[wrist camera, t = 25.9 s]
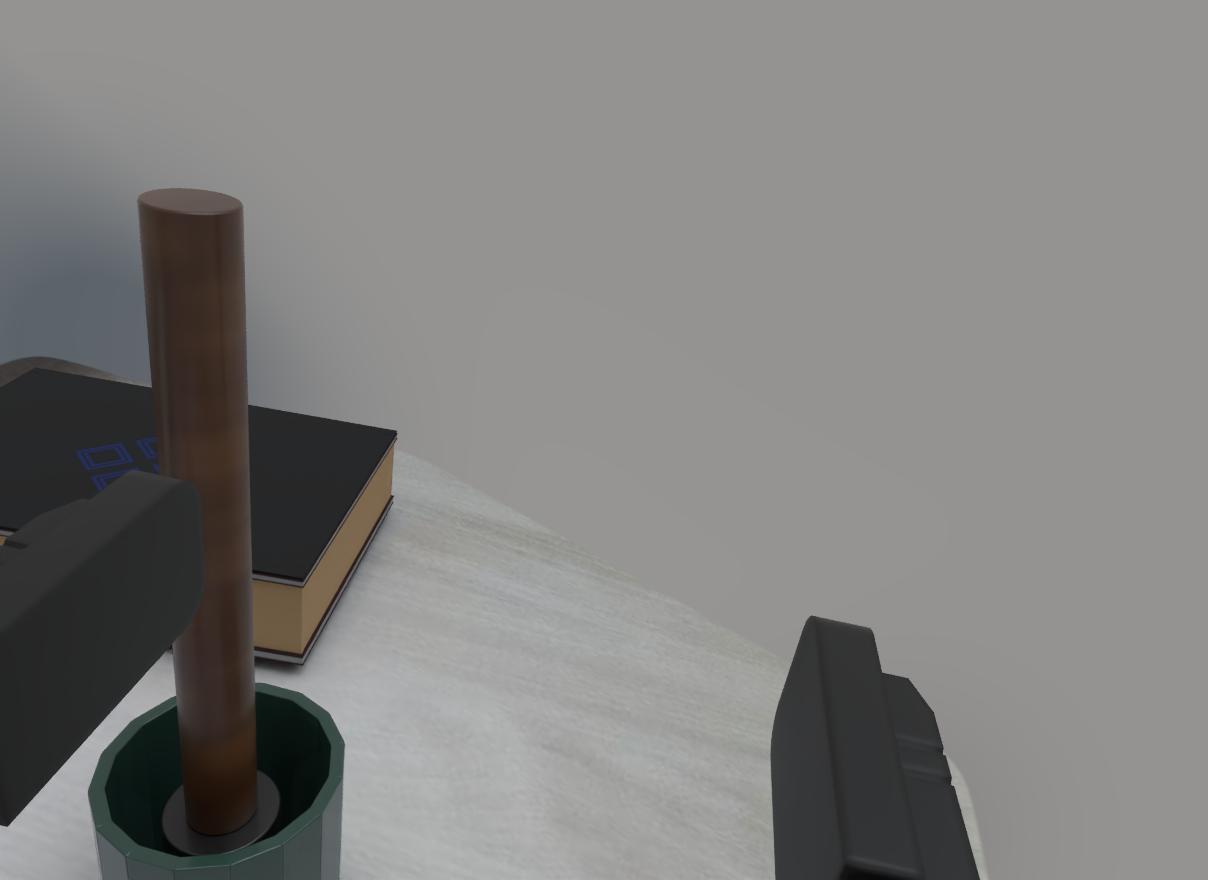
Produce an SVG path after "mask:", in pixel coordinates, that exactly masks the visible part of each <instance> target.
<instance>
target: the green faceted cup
mask: <svg viewBox="0 0 1208 880" xmlns="http://www.w3.org/2000/svg"><path fill="white" fill-rule="evenodd" d="M255 709H256V749H257V769H258V770H260V771H262V772H264V773H265V774H267V775H268V776H269V777H270V778H271V779H272V780H273V781H274V782H275V784H276V785H277V787H278V789H279V792H280V796H281V831H280V832H279V833H278V834H276V835H275V836H273V837H270V838H268V839H265V840H263V841H260V842H257V843H255V844H252V845H250V846H247V847H245V848H242V849H239V850H237V851H234V852H232V853H229V854H215V855H202V856H188V857H178V856H175V855H171V854H168V853H164V852H163V842H162V832H161V815H162V812H163V809H164V807H165V804H166V802H167V801H168V799H169V798H170V796H171V795H172V794H173V792H174V791H175V790H176V789H177V788H178V787H179V786H180V785H182V784H183V775H182V763H181V750H180V737H179V724H178V712H177V699H176V696H174V697H172V698H170V699H168V700H166V701H165V702H163V703H161V704H160V705H158V706H156V707H154V708H153V709H151V710H149V711H148V712H146V713H144V714H142V715H141V716H139V717H137V718H135V719H134V720H133V721H131V722H130V723H129V724H128V725H127V726H126V728H125V729H124V730H123V731H122V732H121V733H120V734H119V735H118V736H117V737H116V738H115V739H114V740H113V742H112V743H111V744H110V745H109V746H108V747H107V748H106V749H105V750H104V751H103V753H102V754H101V756H100V759H99V761H98V764H97V767H96V770H95V773H94V775H93V778H92V781H91V784H90V786H89V789H88V799H89V806H90V813H91V819H92V826H93V833H94V839H95V846H96V853H97V859H98V866H99V873H100V880H340V859H341V833H342V807H343V780H344V754H345V744H344V740H343V738H342V736H341V734H340V733H339V731H338V729H337V727H336V725H335V723H334V721H333V719H332V717H331V715H330V714H329V712H327V711H326V710H324V709H323V708H322V707H320V706H319V705H317V704H316V703H315V702H313V701H312V700H310V699H309V698H307V697H306V696H305V695H303V694H302V693H299V692H296V691H292V690H288V689H284V688H280V687H276V686H273V685H269V684H265V683H255Z"/></svg>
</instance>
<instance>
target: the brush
mask: <svg viewBox="0 0 1208 880" xmlns="http://www.w3.org/2000/svg"><path fill="white" fill-rule="evenodd" d="M137 203H138V215H139V229H140V242H141V254H142V267H143V279H144V291H145V305H146V317H147V329H148V330H147V331H148V342H149V356H150V368H151V380H152V394H153V407H154V420H155V432H156V445H157V458H158V470H159V475H162V476H167V477H171V478H176V479H181V480H186V481H190V482H193V483H194V484H195V485H196V486H197V488H198V490H199V493H200V499H201V513H202V528H203V543H204V559H205V574H206V582H205V590H204V594H203V598H202V601H201V604H200V607H199V609H198V611H197V613H196V615H195V617H194V619H193V620H192V622H191V623H190V624H189V626H188V627H187V628H186V629H185V630H184V631H183V632H182V634H181V635H180V636H179V637H178V638H177V639H176V640H175V641H174V642H173V644H172V648H173V661H174V674H175V686H176V699H177V712H178V724H179V737H180V750H181V763H182V775H183V784H182V785H180V786H179V787H178V788H177V789H176V790H175V791H174V792H173V794H172V795H171V796H170V798H169V799H168V801H167V802H166V804H165V807H164V809H163V812H162V815H161V832H162V842H163V852H164V853H168V854H171V855H175V856H178V857H188V856H202V855H215V854H229V853H232V852H234V851H237V850H239V849H242V848H245V847H247V846H250V845H252V844H255V843H257V842H260V841H263V840H265V839H268V838H270V837H273V836H275V835H276V834H278V833H279V832H280V831H281V796H280V792H279V789H278V787H277V785H276V784H275V782H274V781H273V780H272V779H271V778H270V777H269V776H268V775H267V774H265V773H264V772H262V771H260V770H258V769H257V749H256V709H255V668H254V627H253V587H252V546H251V506H250V465H249V424H248V385H247V345H246V344H247V343H246V304H245V266H244V265H245V263H244V222H243V205H242V203H241V202H240V201H239V200H238V199H236V198H233V197H231V196H228V195H225V194H222V193H217V192H212V191H206V190H198V189H181V188H176V189H175V188H173V189H158V190H152V191H148V192H145V193H143V194H141V195H139V197H138V199H137Z"/></svg>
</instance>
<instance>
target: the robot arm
mask: <svg viewBox="0 0 1208 880" xmlns="http://www.w3.org/2000/svg"><path fill="white" fill-rule="evenodd" d="M205 582H206V574H205V559H204V543H203V528H202V513H201V499H200V493H199V490H198V488H197V486H196V485H195V484H194V483H193V482H190V481H186V480H181V479H176V478H171V477H167V476H162V475H157V474H153V473H148V472H143V471H139V470H131V471H129V472H126V473H125V474H123V475H122V476H120V477H119V478H118V479H116V480H115V481H114V482H112V483H111V484H110V485H108V486H107V487H106V488H104V489H103V490H102V491H100V492H99V493H98V494H96V495H95V496H94V497H92V498H91V499H90V500H88V499H84V498H82V499H79V500H77V501H74V502H72V503H69V504H67V505H64V506H61V507H59V508H56V509H54V510H51V511H49V512H46V513H44V514H41V515H39V516H37V517H36V518H34V519H33V520H31V521H30V522H29V523H27V524H26V525H24V526H23V527H22V528H20V529H19V530H17V531H16V532H15V533H13V534H12V535H10V536H9V537H8V538H6V539H5V540H4V544H3V545H0V825H2V826H6V827H8V826H9V825H10V824H11V822H12V821H13V820H14V819H15V818H16V817H17V816H18V815H19V814H20V812H21V811H22V810H23V809H24V808H25V807H26V806H27V805H28V804H29V802H30V801H31V800H32V799H33V798H34V797H35V796H36V795H37V794H38V792H39V791H40V790H41V789H42V788H43V787H44V786H45V785H46V784H47V782H48V781H49V780H50V779H51V778H52V777H53V776H54V775H55V774H56V772H57V771H58V770H59V769H60V768H61V767H62V766H63V765H64V764H65V762H66V761H67V760H68V759H69V758H70V757H71V756H72V755H73V754H74V752H75V751H76V750H77V749H78V748H79V747H80V746H81V745H82V744H83V742H84V741H85V740H86V739H87V738H88V737H89V736H90V735H91V734H92V732H93V731H94V730H95V729H96V728H97V727H98V726H99V725H100V724H101V722H102V721H103V720H104V719H105V718H106V717H107V716H108V715H109V714H110V712H111V711H112V710H113V709H114V708H115V707H116V706H117V705H118V704H119V702H120V701H121V700H122V699H123V698H124V697H125V696H126V695H127V694H128V692H129V691H130V690H131V689H132V688H133V687H134V686H135V685H136V684H137V682H138V681H139V680H140V679H141V678H142V677H143V676H144V675H145V674H146V672H147V671H148V670H149V669H150V668H151V667H152V666H153V665H154V664H155V662H156V661H157V660H158V659H159V658H160V657H161V656H162V655H163V654H164V652H165V651H166V650H167V649H168V648H169V647H170V646H171V645H172V644H173V642H174V641H175V640H176V639H177V638H178V637H179V636H180V635H181V634H182V632H183V631H184V630H185V629H186V628H187V627H188V626H189V624H190V623H191V622H192V620H193V619H194V617H195V615H196V613H197V611H198V609H199V607H200V604H201V601H202V598H203V594H204V590H205ZM943 749H944V748H943V744H942V741H941V737H940V734H939V730H938V726H937V723H936V719H935V715H934V712H933V711H932V710H931V708H930V707H929V706H928V704H927V703H926V702H925V700H924V699H923V698H922V696H921V695H920V694H919V692H918V691H917V689H916V688H915V687H914V685H913V684H912V683H911V681H910V680H909V679H908V678H904V677H900V676H895V675H890V674H885V673H882V670H881V665H880V661H879V656H878V652H877V647H876V643H875V638H874V634H873V632H872V630H871V629H870V628H867V627H862V626H858V625H853V624H848V623H844V622H839V621H834V620H829V619H825V618H820V617H816V616H810V617H809V618H808V620H807V621H806V624H805V626H804V628H803V631H802V634H801V637H800V640H799V643H798V646H797V649H796V652H795V655H794V658H793V661H792V664H791V667H790V670H789V673H788V676H787V679H786V682H785V685H784V688H783V691H782V694H781V697H780V700H779V704H778V707H777V711H776V715H775V719H774V725H773V731H772V739H771V780H772V805H773V829H774V854H775V878H776V880H980V878H979V874H978V871H977V867H976V864H975V860H974V856H973V853H972V849H971V846H970V842H969V838H968V835H967V831H966V827H965V824H964V820H963V817H962V813H961V809H960V806H959V802H958V799H957V795H956V791H955V788H954V786H952V785H951V779H952V777H951V773H950V770H949V766H948V762H947V759H946V756H945V755H943Z"/></svg>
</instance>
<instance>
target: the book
mask: <svg viewBox="0 0 1208 880" xmlns="http://www.w3.org/2000/svg"><path fill="white" fill-rule="evenodd" d="M248 424H249V465H250V506H251V546H252V587H253V627H254V657H256V658H262V659H268V660H274V661H279V662H285V663H291V664H297V665H303V664H304V662H305V661H306V659H307V657H308V655H309V653H310V652H311V650H312V648H313V646H314V644H315V643H316V641H317V639H318V637H319V635H320V634H321V632H322V630H323V628H324V626H325V625H326V623H327V621H328V619H329V617H330V616H331V614H332V612H333V610H334V608H335V606H336V605H337V603H338V601H339V599H340V597H341V596H342V594H343V592H344V590H345V588H346V587H347V585H348V583H349V581H350V579H351V578H352V576H353V574H354V572H355V570H356V569H357V567H358V565H359V563H360V561H361V560H362V558H363V556H364V554H365V552H366V551H367V549H368V547H369V545H370V543H371V542H372V540H373V538H374V536H375V534H376V533H377V531H378V529H379V527H380V525H381V524H382V522H383V520H384V518H385V516H386V515H387V513H388V511H389V509H390V507H391V506H392V504H393V497H394V496H392V495H391V487H392V470H393V453H394V443H395V441H396V440H397V433H396V432H397V431H395V430H389V429H383V428H377V427H372V426H366V425H361V424H354V423H349V422H343V421H338V420H332V419H326V418H321V417H314V416H309V415H303V414H298V413H292V412H286V411H281V410H275V409H269V408H264V407H258V406H252V405H248ZM131 470H139V471H143V472H148V473H153V474H157V475H159V470H158V458H157V445H156V432H155V420H154V407H153V394H152V388H150V387H144V386H138V385H132V384H127V383H121V382H115V381H110V380H104V379H98V378H92V377H87V376H81V375H75V374H70V373H64V372H58V371H53V370H47V369H41V368H34V369H32V370H30V371H29V372H27V373H25V374H23V375H22V376H20V377H18V378H16V379H15V380H13V381H11V382H9V383H8V384H6V385H4V386H2V387H1V388H0V545H3V544H4V540H5V539H6V538H8V537H9V536H10V535H12V534H13V533H15V532H16V531H17V530H19V529H20V528H22V527H23V526H24V525H26V524H27V523H29V522H30V521H31V520H33V519H34V518H36V517H37V516H39V515H41V514H44V513H46V512H49V511H51V510H54V509H56V508H59V507H61V506H64V505H67V504H69V503H72V502H74V501H77V500H79V499H82V498H84V499H88V500H90V499H91V498H92V497H94V496H95V495H96V494H98V493H99V492H100V491H102V490H103V489H104V488H106V487H107V486H108V485H110V484H111V483H112V482H114V481H115V480H116V479H118V478H119V477H120V476H122V475H123V474H125V473H126V472H129V471H131Z"/></svg>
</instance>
